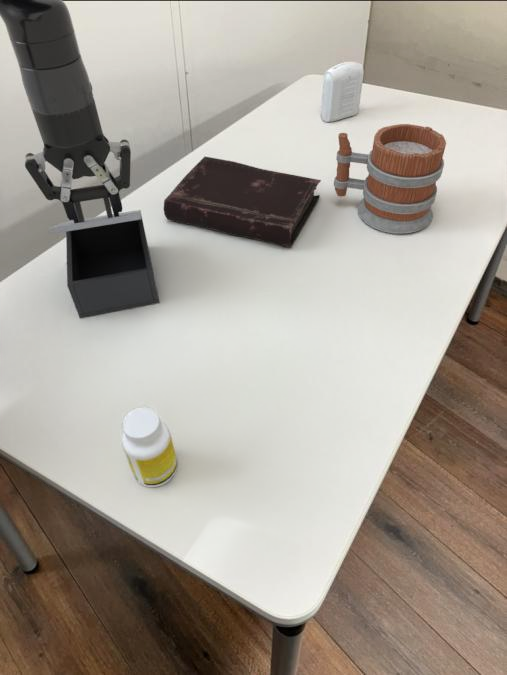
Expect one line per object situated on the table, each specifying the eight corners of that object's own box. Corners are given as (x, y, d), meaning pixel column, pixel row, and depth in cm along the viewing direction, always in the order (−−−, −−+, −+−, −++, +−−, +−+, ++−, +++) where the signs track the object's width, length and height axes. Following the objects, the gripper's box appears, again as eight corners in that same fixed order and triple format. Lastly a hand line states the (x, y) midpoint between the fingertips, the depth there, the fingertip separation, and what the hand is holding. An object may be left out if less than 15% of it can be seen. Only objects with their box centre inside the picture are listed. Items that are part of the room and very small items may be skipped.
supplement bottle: (186, 460, 63) (176, 414, 55) (159, 496, 59) (144, 452, 52) (152, 441, 64) (137, 394, 57) (123, 475, 61) (104, 430, 54)
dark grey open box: (159, 303, 82) (152, 270, 77) (79, 318, 80) (67, 285, 75) (148, 246, 92) (141, 214, 87) (77, 258, 90) (66, 226, 85)
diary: (289, 252, 90) (290, 228, 87) (165, 223, 97) (161, 200, 94) (320, 198, 102) (322, 175, 98) (208, 176, 109) (206, 154, 105)
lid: (141, 219, 72) (133, 179, 70) (49, 234, 70) (38, 193, 68) (141, 214, 87) (134, 181, 86) (65, 226, 85) (57, 193, 84)
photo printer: (350, 108, 131) (356, 56, 122) (361, 114, 128) (368, 61, 119) (317, 118, 127) (321, 65, 118) (328, 124, 125) (332, 70, 115)
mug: (428, 241, 92) (450, 163, 81) (323, 224, 96) (330, 148, 85) (435, 200, 101) (455, 125, 90) (338, 186, 105) (346, 113, 94)
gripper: (-3, 119, 58) (46, 240, 71) (123, 102, 61) (149, 222, 73) (2, 94, 63) (47, 211, 76) (118, 79, 66) (143, 195, 78)
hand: (96, 216), depth 74 cm, fingers closed on lid, 5 cm apart
